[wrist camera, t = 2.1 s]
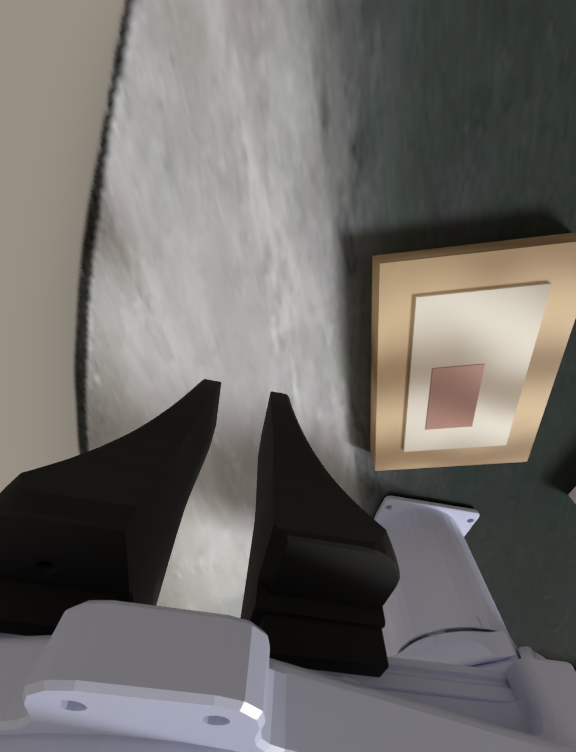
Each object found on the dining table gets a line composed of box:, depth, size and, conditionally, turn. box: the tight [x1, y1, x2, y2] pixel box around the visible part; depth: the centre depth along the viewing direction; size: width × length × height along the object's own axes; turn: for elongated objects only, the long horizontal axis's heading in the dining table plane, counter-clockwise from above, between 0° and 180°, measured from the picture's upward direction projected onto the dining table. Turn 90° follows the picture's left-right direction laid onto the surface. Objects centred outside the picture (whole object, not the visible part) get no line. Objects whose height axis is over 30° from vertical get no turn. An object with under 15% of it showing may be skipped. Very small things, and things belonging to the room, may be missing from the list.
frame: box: [370, 233, 576, 471], centre depth 20 cm, size 14×10×3 cm
